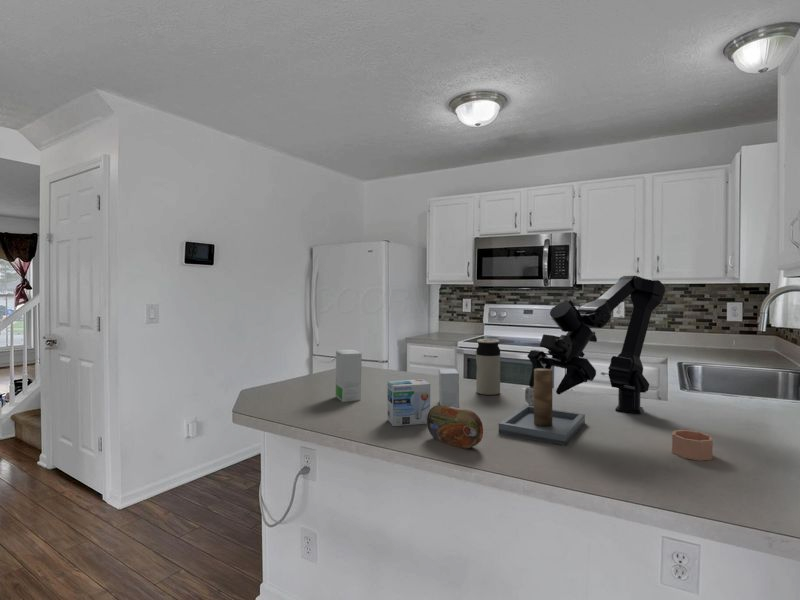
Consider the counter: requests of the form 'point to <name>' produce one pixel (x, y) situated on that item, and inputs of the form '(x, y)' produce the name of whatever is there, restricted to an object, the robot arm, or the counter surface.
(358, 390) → the skincare box
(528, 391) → the mug
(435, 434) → the tin
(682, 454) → the terracotta cup
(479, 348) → the travel mug
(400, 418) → the light bulb box
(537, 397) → the walnut dowel
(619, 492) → the counter surface
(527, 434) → the slate tray
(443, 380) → the small box
